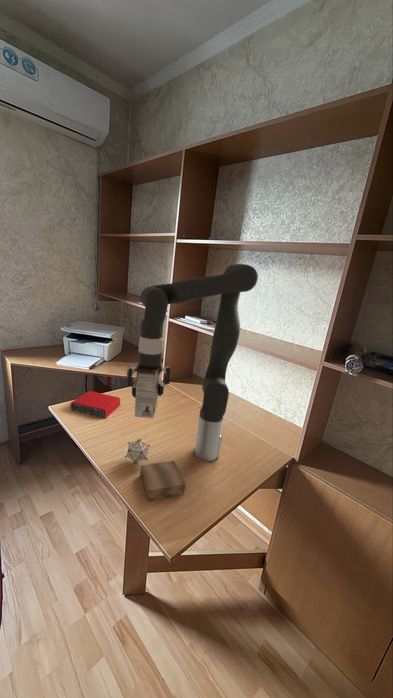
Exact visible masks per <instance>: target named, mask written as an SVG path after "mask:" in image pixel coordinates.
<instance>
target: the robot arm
mask: <svg viewBox="0 0 393 698" xmlns="http://www.w3.org/2000/svg"><path fill="white" fill-rule="evenodd" d="M258 280H259V275H258V271H257V270H256V268H255V267H254V266H252V265H249V264H246V263H240V262H239V263H238V262H235V263H231V264H229V265H228V266H227V267H225V270H224V272H223V273H222V274H218V275H212V276H200V277H192V278H191V277H190V278H187V279H181V280H178V281H175V282H171V283H165V284H163V283H162V284H156V285H151V286H147V287H145V288H144V289H143V290H142V291H141V292H140V295H139V296H140V297H139V299H140V302H141V305H143V306H144V315H143V316H144V317H143V319H142V320H141V323H140V332H139V334H140V336H139V341H138V354H137V356H138V357H137V359H138V360H137V366H136V367H132V366H131V365H130V366H127V372H126V380H125V381H126V386H127V387H131V395H132V397H134V399H136V378H137V375H136V376H135V377H134V379H133V375H134V374H135V373H136V372H137V371H138V369H159V374H161V373H162V372H163V373H164V379H163V380H162V378H161V377H159V376H158V382H159V386H158V397H162V395H164V387H165V385H170V383H171V381H170V380H171V368H170V367H169V366H168V365H164V366H162V358H163V349H164V347H163V343H164V342H163V334H164V332H163V331H164V322H165V320H166V315H167V311H168V307H169V306H168V305H172V304H174V305H182V304H186V303H189V302H194V301H197V300H201V299H205V298H209V297H213V296H217V295H218V296H219V295H220V301H219V307H218V311H217V316H216V323H215V327H214V329H213V330H214V331H213V336H212V340H211V346H210V354H209V362H208V365H207V368H206V371H205V375H204V378H203V381H202V385H201V386H202V388H201V389H202V393H203V398H202V399H203V400H202V405H201V406H202V407H200V410H199V416H198V423H197V429H196V430H197V431H196V439H195V443H194V444H195V445H194V454H195V456H196V457H197V458H199V459H201V460H203V461H208V462H213V461H215V460H216V459H218V458H219V457H220V451H221V445H222V439H223V436H222V435H221V433H222V426H223V420H224V416H225V414H226V410H227V407H228V401H229V395H230V393H229V392H230V391H229V390H230V389H229V387H228V385H227V383H226V375H227V369H228V365H229V362H230V360H232V359H231V358H232V357H233V354H234V353H235V351H236V348H237V345H238V343H239V337H240V334H241V320H240V313H239V301H240V297H241V293H244V292H245V293H246V292H250V291H251V290H253V289H254V288H255V287H256V285H257V283H258ZM132 379H133V380H132Z"/></svg>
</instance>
